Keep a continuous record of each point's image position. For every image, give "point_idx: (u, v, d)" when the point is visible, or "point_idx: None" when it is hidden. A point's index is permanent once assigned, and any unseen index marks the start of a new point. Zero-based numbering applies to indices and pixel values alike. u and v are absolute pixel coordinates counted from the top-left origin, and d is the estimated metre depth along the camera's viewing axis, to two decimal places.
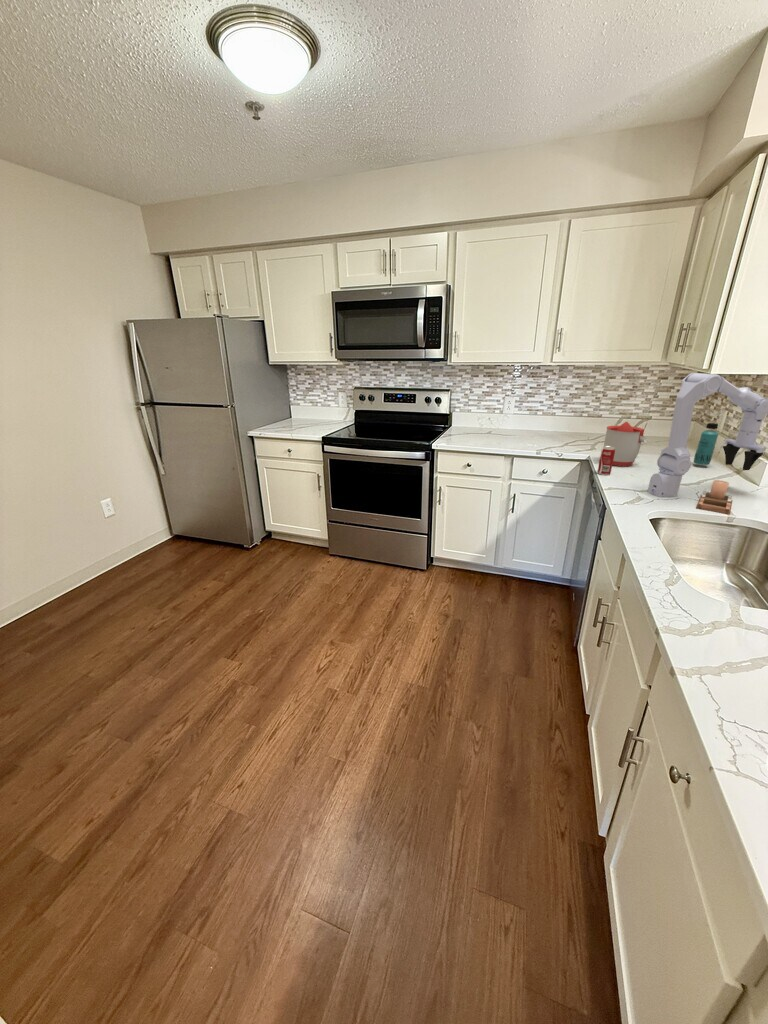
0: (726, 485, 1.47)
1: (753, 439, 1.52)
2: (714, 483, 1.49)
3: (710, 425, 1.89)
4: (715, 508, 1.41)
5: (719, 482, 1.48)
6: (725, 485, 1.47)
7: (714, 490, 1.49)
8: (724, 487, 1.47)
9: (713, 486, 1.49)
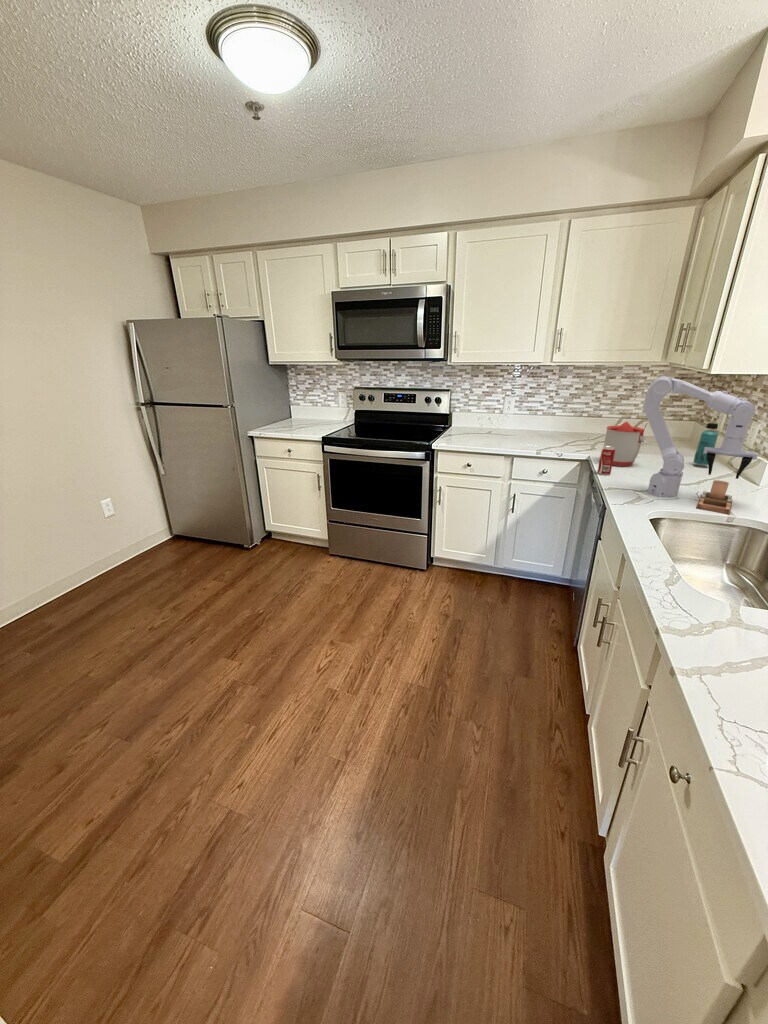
0: (726, 485, 1.47)
1: None
2: (714, 483, 1.49)
3: (710, 425, 1.89)
4: (715, 508, 1.41)
5: (719, 482, 1.48)
6: (725, 485, 1.47)
7: (714, 490, 1.49)
8: (724, 487, 1.47)
9: (713, 486, 1.49)
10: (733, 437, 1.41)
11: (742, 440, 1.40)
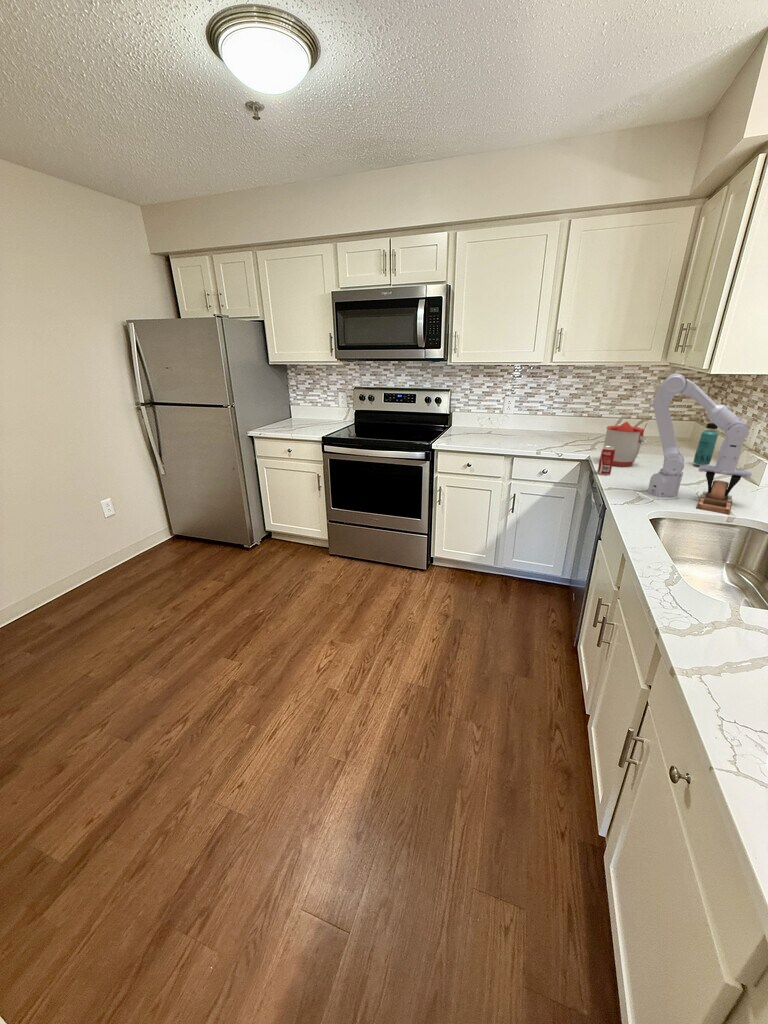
0: (726, 485, 1.47)
1: (716, 462, 1.48)
2: (714, 483, 1.49)
3: (710, 425, 1.89)
4: (715, 508, 1.41)
5: (719, 482, 1.48)
6: (725, 485, 1.47)
7: (714, 490, 1.49)
8: (724, 487, 1.47)
9: (713, 486, 1.49)
10: (727, 456, 1.43)
11: (736, 459, 1.43)
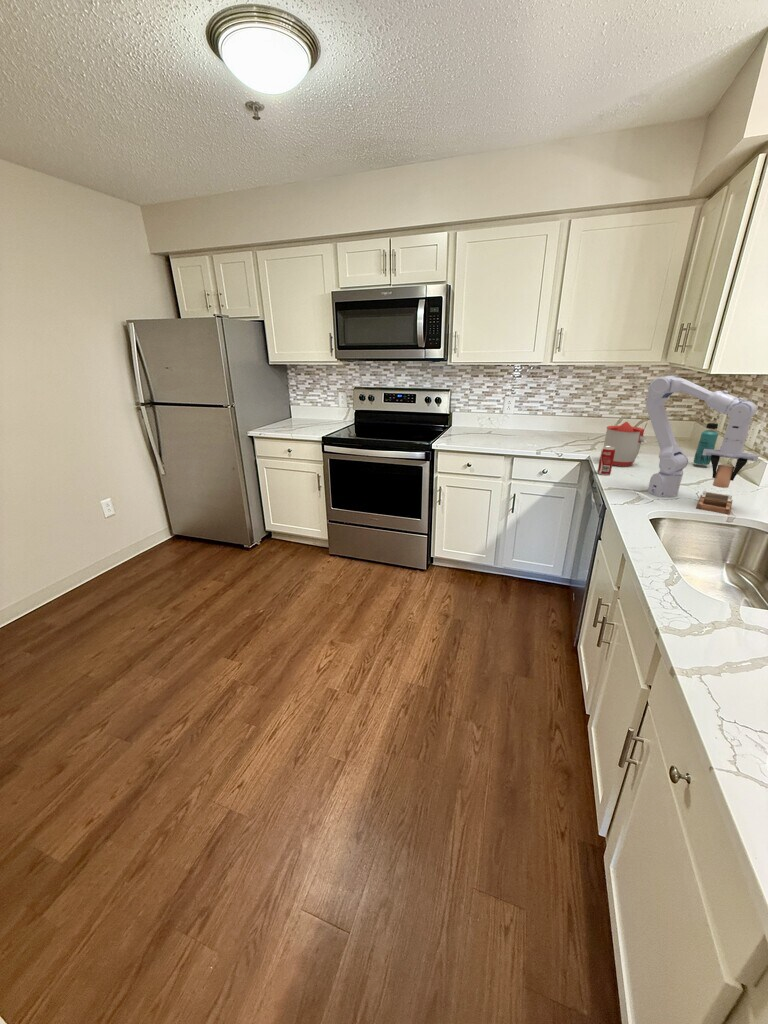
0: (732, 469, 1.41)
1: None
2: (719, 467, 1.42)
3: (710, 425, 1.89)
4: (715, 508, 1.41)
5: (724, 466, 1.42)
6: (731, 469, 1.40)
7: (719, 474, 1.43)
8: (730, 471, 1.41)
9: (718, 470, 1.43)
10: (729, 438, 1.38)
11: (742, 442, 1.36)
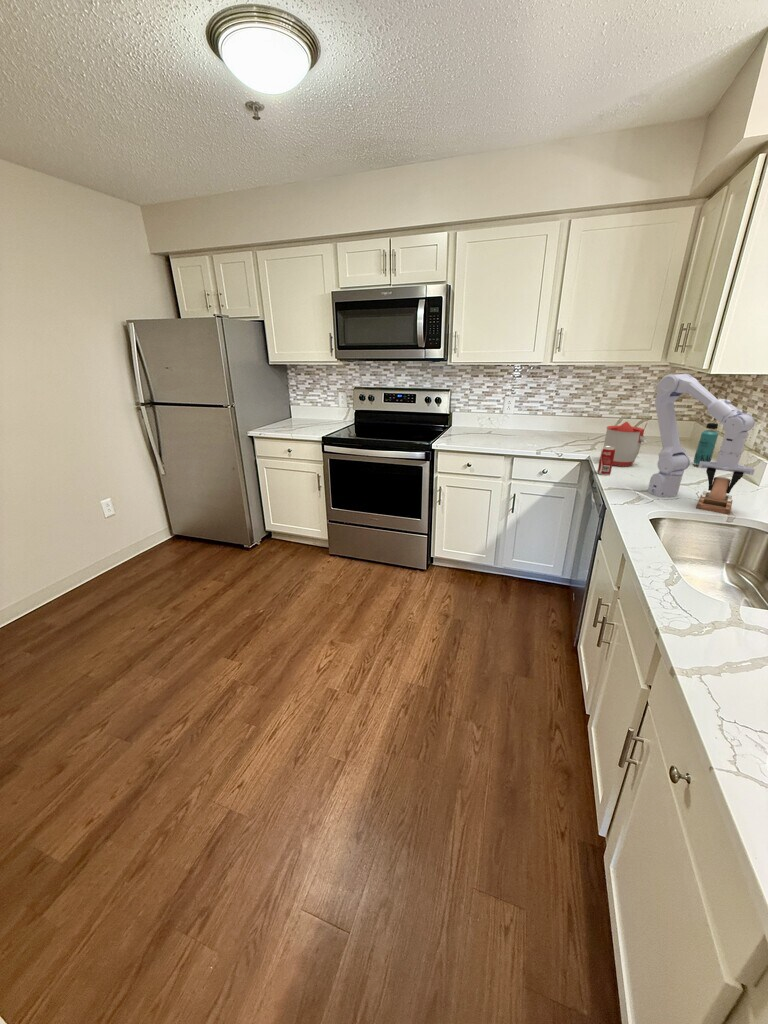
0: (728, 482, 1.39)
1: (717, 458, 1.40)
2: (715, 480, 1.41)
3: (710, 425, 1.89)
4: (715, 508, 1.41)
5: (720, 479, 1.41)
6: (727, 482, 1.39)
7: (715, 487, 1.41)
8: (726, 484, 1.40)
9: (714, 483, 1.42)
10: (723, 451, 1.37)
11: (738, 455, 1.35)
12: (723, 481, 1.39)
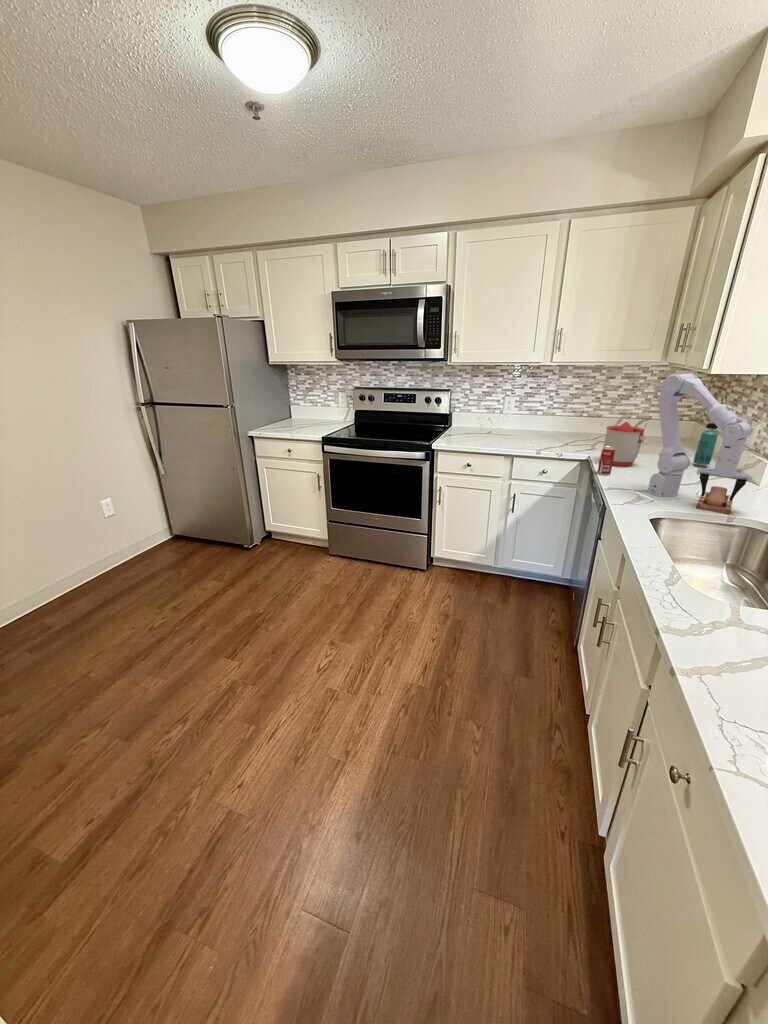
0: (724, 491, 1.41)
1: (715, 465, 1.41)
2: (712, 489, 1.43)
3: (710, 425, 1.89)
4: (715, 508, 1.41)
5: (717, 488, 1.42)
6: (723, 491, 1.41)
7: (712, 496, 1.43)
8: (722, 494, 1.41)
9: (711, 492, 1.43)
10: (721, 458, 1.38)
11: (736, 462, 1.36)
12: (720, 491, 1.41)
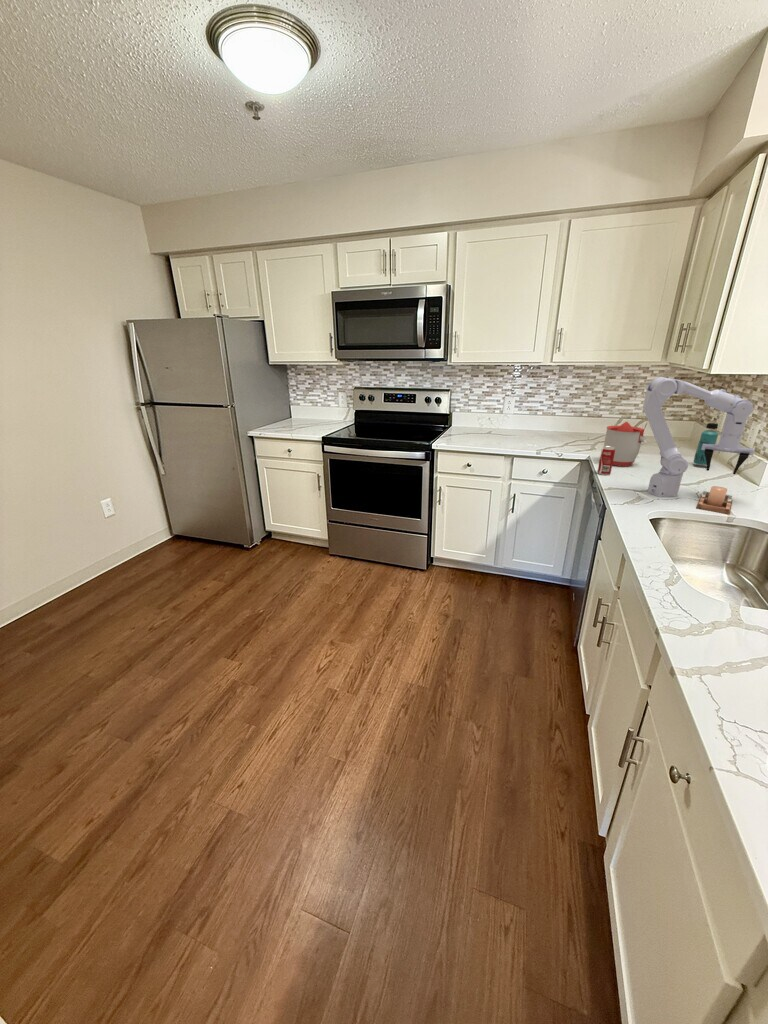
0: (724, 491, 1.41)
1: (719, 440, 1.49)
2: (712, 489, 1.43)
3: (710, 425, 1.89)
4: (715, 508, 1.41)
5: (717, 488, 1.42)
6: (723, 491, 1.41)
7: (712, 496, 1.43)
8: (722, 493, 1.41)
9: (711, 492, 1.43)
10: (733, 434, 1.44)
11: (739, 436, 1.44)
12: (720, 491, 1.41)
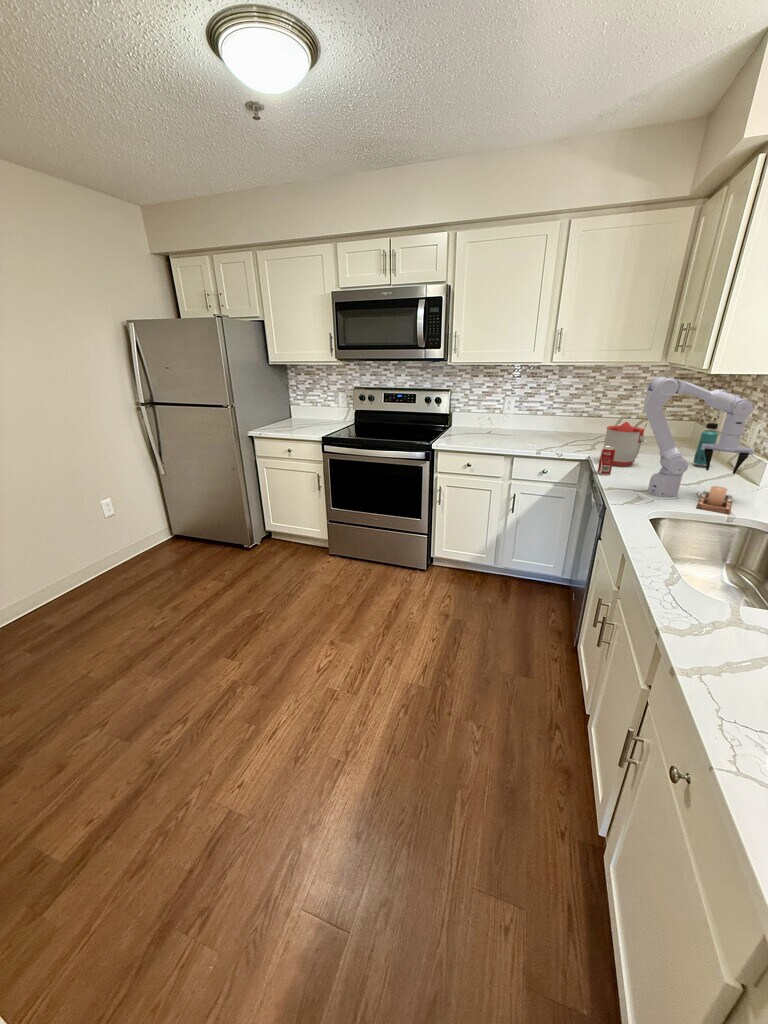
0: (724, 491, 1.41)
1: (719, 440, 1.49)
2: (712, 489, 1.43)
3: (710, 425, 1.89)
4: (715, 508, 1.41)
5: (717, 488, 1.42)
6: (723, 491, 1.41)
7: (712, 496, 1.43)
8: (722, 493, 1.41)
9: (711, 492, 1.43)
10: (733, 434, 1.44)
11: (739, 436, 1.44)
12: (720, 490, 1.41)
